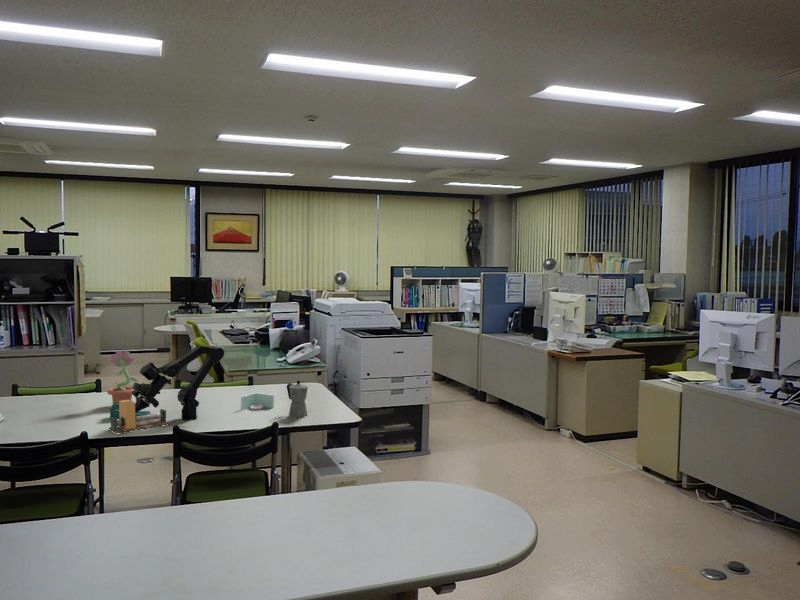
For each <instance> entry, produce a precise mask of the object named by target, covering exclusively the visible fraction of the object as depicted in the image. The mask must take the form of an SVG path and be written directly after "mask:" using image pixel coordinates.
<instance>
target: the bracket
mask: <svg viewBox="0 0 800 600" xmlns="http://www.w3.org/2000/svg"><path fill="white" fill-rule="evenodd" d="M148 414H151V411H150V410H140V411H138V412H136V413H135V417H136V416H142V415H148ZM112 417H114V418H116V419H119V401H117V402H115V403H113V402H112V404H111V407H110V410H109V420H110V419H111V418H112Z"/></svg>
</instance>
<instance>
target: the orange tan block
mask: <svg viewBox="0 0 800 600" xmlns="http://www.w3.org/2000/svg"><path fill="white" fill-rule="evenodd" d="M135 403H136V401H135V402H134V401H133V400H132V401H130V400H122V401H119V409H118V411H119V419H121V418H123V419H124V418H125V425H123V426H121V427H123V428H125V429H126V430H127V429H132V428H135Z"/></svg>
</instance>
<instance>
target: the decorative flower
mask: <svg viewBox="0 0 800 600" xmlns="http://www.w3.org/2000/svg"><path fill="white" fill-rule="evenodd" d="M129 355H131V352H130V351H126V350H125V351H122V350H117V351H116V352H115V354H114V353H113V354H111V357H110V360H109V362H110V363H111V364H112V365H113V366H115V367H118V368H121V370H120V371H118V372H117V375H116V376H120V375H122V374H124V375H125V376H124V377H125V378H126V381H123V382H120V383H118V382H117V383H115V382H114V384H115V385H116V386H115V387H110V388H109V389H108V390H107V394H108V395H109V396H110V395H111V398H112V399H111V401H112V404H113V403H115V402H117V401H122V400H130V401H132V402H133V395H132V394H131V393H132V392H133V391H134V389H132V387H133V386H127V385H128V384H129V383H131V382H132V381H133V382H139V380H138V379H137V378H134V377H130V374H129V372H128V370H127V366H130V365H131V363H132V362H134V360H135V357H133V356H132V357H130V356H129Z"/></svg>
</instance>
